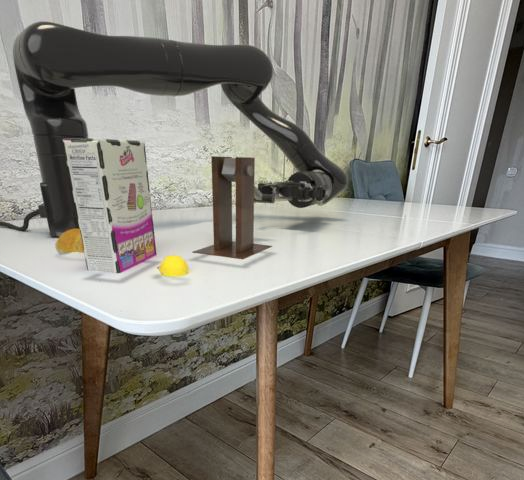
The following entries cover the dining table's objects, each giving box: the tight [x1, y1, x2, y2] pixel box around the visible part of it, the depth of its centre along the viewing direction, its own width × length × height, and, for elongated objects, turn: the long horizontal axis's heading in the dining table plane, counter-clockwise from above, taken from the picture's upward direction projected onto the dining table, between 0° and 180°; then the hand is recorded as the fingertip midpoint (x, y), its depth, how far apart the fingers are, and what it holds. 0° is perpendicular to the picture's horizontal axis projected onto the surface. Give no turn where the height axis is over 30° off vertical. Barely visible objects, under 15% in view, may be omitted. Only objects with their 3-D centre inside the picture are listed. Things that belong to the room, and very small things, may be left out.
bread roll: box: [54, 229, 84, 255], centre depth 63 cm, size 8×9×4 cm
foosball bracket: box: [191, 156, 273, 260], centre depth 62 cm, size 11×9×15 cm
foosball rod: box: [222, 157, 276, 204], centre depth 64 cm, size 13×5×2 cm, turn 155°
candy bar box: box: [63, 137, 157, 274], centre depth 52 cm, size 11×5×16 cm, turn 168°
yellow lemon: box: [156, 254, 189, 278], centre depth 51 cm, size 3×6×4 cm, turn 44°
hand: (280, 193), depth 77 cm, fingers open, 8 cm apart
